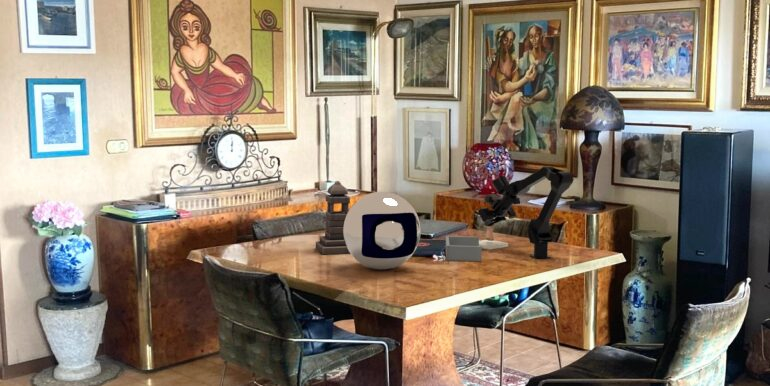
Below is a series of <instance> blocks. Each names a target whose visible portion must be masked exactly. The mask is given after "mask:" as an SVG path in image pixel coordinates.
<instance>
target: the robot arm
mask: <svg viewBox="0 0 770 386" xmlns="http://www.w3.org/2000/svg"><path fill="white" fill-rule="evenodd" d="M545 179H547V180H548V181H550V191H549V192H548V195H547V197H546V200H545V201H544V204H543V206H542V208H541V210H540V212H539V214H538V216H537V217H536V218H531V220H530V221H529V224H528V225H527V230H526V231H527V234H528V239H529V243H530V244H533V253H532V254H530V257H532V258H534V259H550V258H552V256H549V255H548V250H549V249H548V247H549V243H553V240H554V237H553V235H552V234H551V232H550V231H549V230H550V220H551V218H552V217H553V215H554V212H555V210H556V208H557V207H558V204H559V202H560V199H561V198H562V195H563V194H564V193H565V192H566V191H567V190H569V188H570V187H571V186H572V184H573V182H574V176H573V174H572V172H571V171H566V170H562V169H559V168H556V167H554V166H551V165H547V166H545V165H544V166H542V167H541V168H539V169H538V170H537V171H535V172H533V173H532V174H530V175H528V176H526V177H524V178H523V179H518V180H514V181H513V182H510V183H509V181H508V179H507V177H506V176H505V175H500V176H499V177H497V178H495V179H493V181H492V182H491V184H492V186H493V188H494V190H495V191H496V192H497V194H498V195H500V196H501V195H502V197H500V196H498V195H497V194H495V193H491V194H490V193H489V194H486V196H485V197H484V198H483V199H484V202H485V203H487V204H489V205H490V206H489V207H490V208H491V209H489V208H488V207H480V208H479V209H478V210H477V213H478V215H479V217H480V218H481V221H483V222H484V223H483V224H484V225H485V226H486V227H487V225H489V224H491V223H493V224H494V225H496V224H498V223H502V222H504V221H507V218H506V216H507V215H508V219H509V220H513V219H515V218H516V216H517V215H516V214H517V213H516V212H515V210H514V208H513V207H512V206H513V205H521V200H520V197H518V196H524V195H526V194H527V193H528V192H529V191H530V189H531V188H532V187H533V186H535V185H536V184H537V185H538V183H540V182H542V181H544V180H545ZM484 225H483V226H484Z"/></svg>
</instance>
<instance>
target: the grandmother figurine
mask: <svg viewBox="0 0 770 386" xmlns="http://www.w3.org/2000/svg"><path fill="white" fill-rule="evenodd" d="M483 227H484V228H486V237H485V239H484V240H488V241H496V240H495V239H494V233H493V231H494V230H495V224H493V223H491V224H489V225H487V226H485V225H483Z"/></svg>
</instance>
